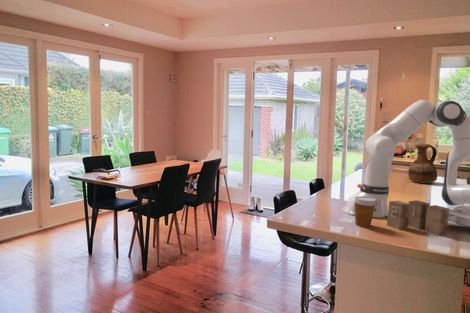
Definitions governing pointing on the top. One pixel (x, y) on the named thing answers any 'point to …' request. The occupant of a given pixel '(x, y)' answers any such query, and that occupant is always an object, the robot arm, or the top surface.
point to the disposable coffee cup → (364, 210)
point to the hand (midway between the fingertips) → (445, 218)
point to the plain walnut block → (436, 220)
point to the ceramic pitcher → (423, 166)
